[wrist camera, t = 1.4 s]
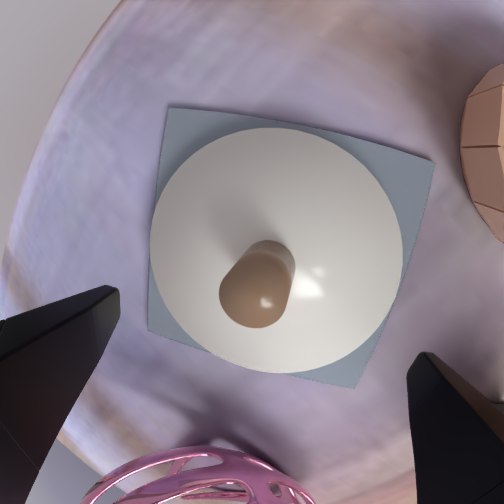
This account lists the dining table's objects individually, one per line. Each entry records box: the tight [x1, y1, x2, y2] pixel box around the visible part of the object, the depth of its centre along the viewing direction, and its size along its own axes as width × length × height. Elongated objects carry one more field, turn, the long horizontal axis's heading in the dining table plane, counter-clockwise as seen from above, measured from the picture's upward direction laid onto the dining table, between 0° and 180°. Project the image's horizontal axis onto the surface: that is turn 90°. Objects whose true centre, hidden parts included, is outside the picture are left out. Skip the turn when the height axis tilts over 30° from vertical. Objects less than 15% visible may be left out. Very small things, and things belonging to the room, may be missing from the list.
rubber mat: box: [148, 108, 435, 389], centre depth 22 cm, size 19×19×1 cm
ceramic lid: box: [150, 128, 403, 373], centre depth 18 cm, size 18×18×6 cm
